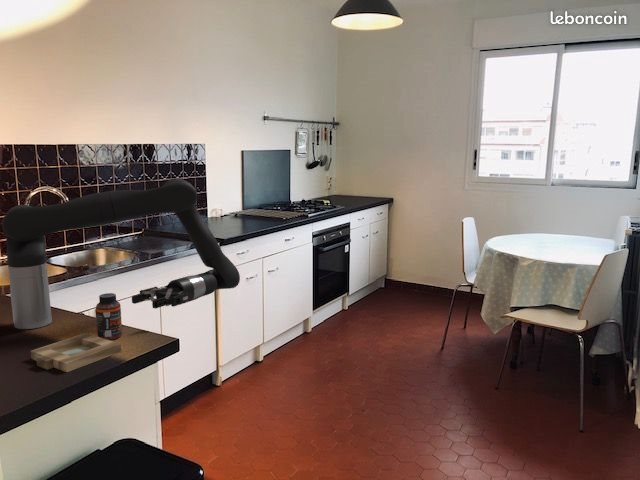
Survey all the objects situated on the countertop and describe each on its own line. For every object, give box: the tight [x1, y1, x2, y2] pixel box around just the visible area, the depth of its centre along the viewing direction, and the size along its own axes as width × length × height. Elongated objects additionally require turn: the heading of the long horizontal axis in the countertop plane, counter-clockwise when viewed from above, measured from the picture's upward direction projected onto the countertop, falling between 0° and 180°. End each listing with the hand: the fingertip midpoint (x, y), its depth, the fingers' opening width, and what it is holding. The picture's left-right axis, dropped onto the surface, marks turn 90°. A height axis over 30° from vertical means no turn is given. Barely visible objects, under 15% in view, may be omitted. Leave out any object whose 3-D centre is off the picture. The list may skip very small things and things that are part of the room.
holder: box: [30, 332, 122, 373], centre depth 123 cm, size 14×16×2 cm
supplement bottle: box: [95, 292, 123, 341], centre depth 135 cm, size 6×6×11 cm
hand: (142, 302), depth 144 cm, fingers open, 8 cm apart
